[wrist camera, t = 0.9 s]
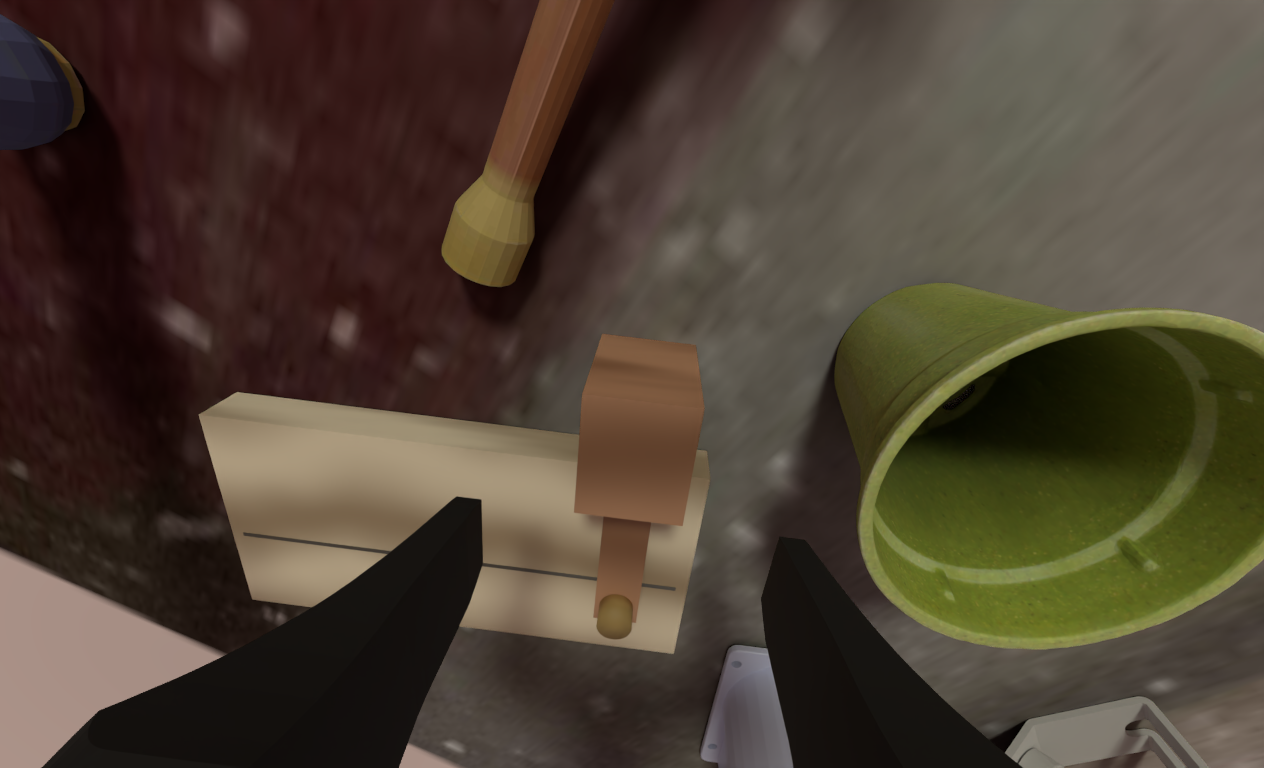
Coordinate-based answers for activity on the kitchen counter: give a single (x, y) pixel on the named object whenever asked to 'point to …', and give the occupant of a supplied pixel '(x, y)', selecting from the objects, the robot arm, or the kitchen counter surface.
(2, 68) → the rubber mallet
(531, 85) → the hammer
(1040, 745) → the clamp
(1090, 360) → the plant pot
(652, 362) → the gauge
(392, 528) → the board
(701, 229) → the kitchen counter surface
